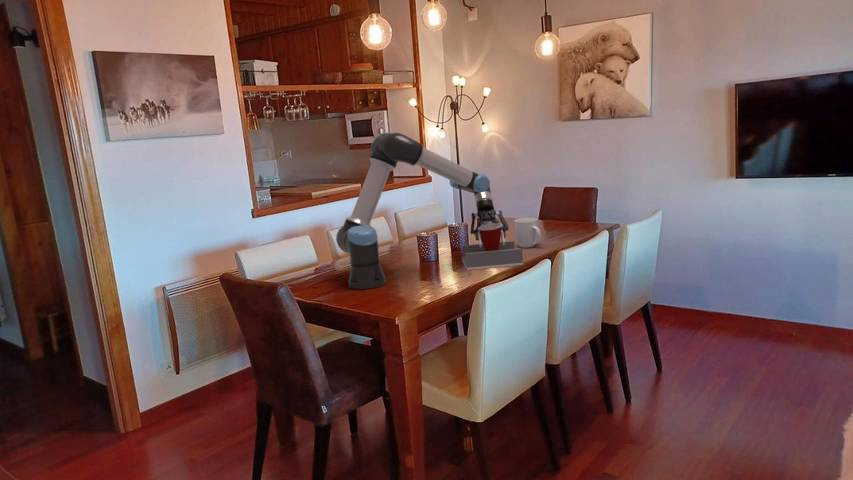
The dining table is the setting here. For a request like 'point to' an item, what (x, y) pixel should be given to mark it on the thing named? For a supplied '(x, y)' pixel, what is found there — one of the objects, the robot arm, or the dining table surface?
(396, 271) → the dining table surface
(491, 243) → the plastic cup
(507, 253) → the dock
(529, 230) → the mug
